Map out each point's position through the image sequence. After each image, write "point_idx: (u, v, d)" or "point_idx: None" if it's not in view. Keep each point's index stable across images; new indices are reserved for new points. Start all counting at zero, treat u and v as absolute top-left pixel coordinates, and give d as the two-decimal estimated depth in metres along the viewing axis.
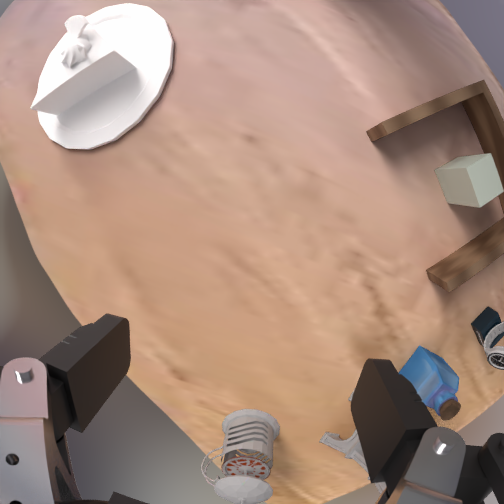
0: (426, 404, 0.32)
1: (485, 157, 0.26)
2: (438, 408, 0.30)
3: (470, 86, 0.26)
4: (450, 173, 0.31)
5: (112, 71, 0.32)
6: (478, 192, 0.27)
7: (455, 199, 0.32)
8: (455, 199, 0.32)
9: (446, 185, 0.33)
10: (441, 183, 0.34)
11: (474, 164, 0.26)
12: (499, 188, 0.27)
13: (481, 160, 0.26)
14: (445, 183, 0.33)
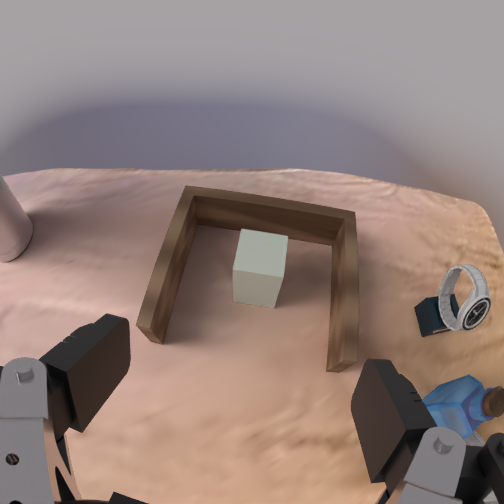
0: (473, 429, 0.20)
1: (240, 238, 0.32)
2: (485, 417, 0.19)
3: (179, 205, 0.36)
4: (238, 288, 0.33)
5: None
6: (267, 269, 0.30)
7: (269, 298, 0.34)
8: (270, 298, 0.34)
9: (253, 299, 0.35)
10: (249, 302, 0.36)
11: (237, 256, 0.30)
12: (281, 239, 0.32)
13: (239, 245, 0.31)
14: (249, 299, 0.35)
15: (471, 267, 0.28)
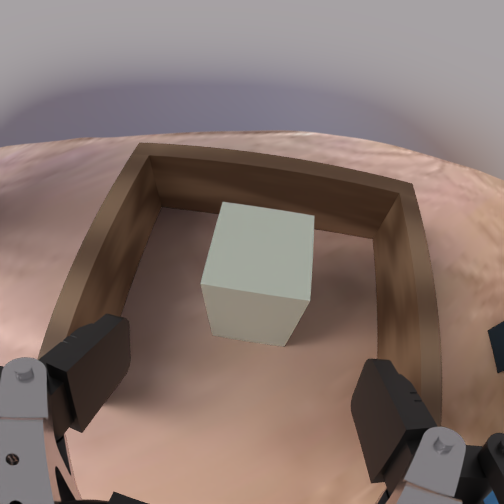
0: None
1: (219, 219, 0.16)
2: None
3: (123, 171, 0.20)
4: (218, 317, 0.17)
5: None
6: (275, 284, 0.14)
7: (277, 333, 0.18)
8: (279, 334, 0.18)
9: (247, 333, 0.19)
10: (241, 338, 0.20)
11: (211, 255, 0.14)
12: (302, 221, 0.16)
13: (217, 233, 0.15)
14: (241, 333, 0.19)
15: None
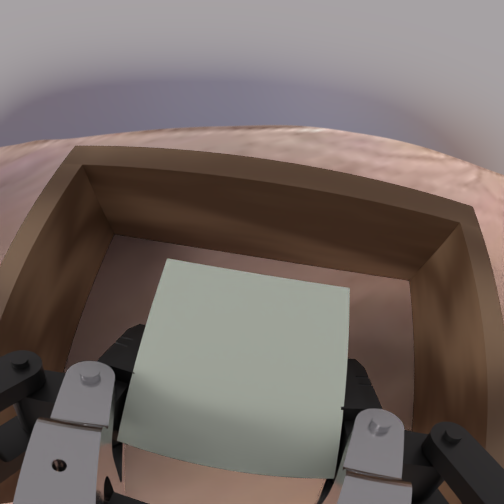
0: None
1: (158, 300, 0.07)
2: None
3: (45, 191, 0.12)
4: None
5: None
6: (266, 451, 0.06)
7: None
8: None
9: None
10: None
11: (137, 383, 0.06)
12: (325, 303, 0.08)
13: (150, 332, 0.07)
14: None
15: None
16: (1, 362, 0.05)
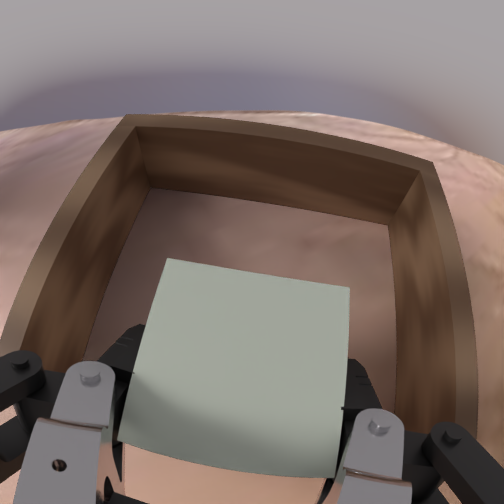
0: None
1: (158, 299, 0.07)
2: None
3: (105, 143, 0.17)
4: None
5: None
6: (266, 450, 0.06)
7: None
8: None
9: None
10: None
11: (137, 382, 0.06)
12: (325, 302, 0.08)
13: (150, 332, 0.07)
14: None
15: None
16: (1, 362, 0.05)
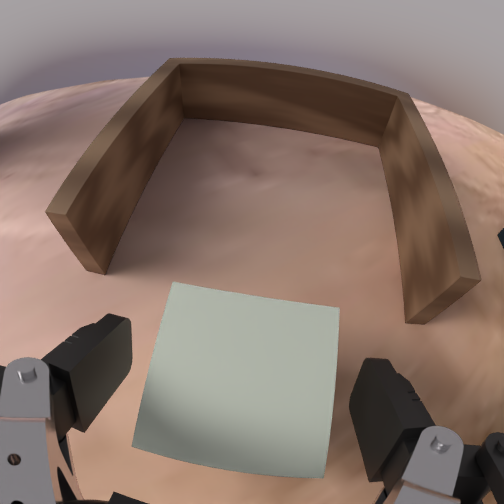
0: None
1: (165, 320, 0.08)
2: None
3: (156, 72, 0.21)
4: None
5: None
6: (263, 454, 0.06)
7: None
8: None
9: None
10: None
11: (149, 395, 0.07)
12: (317, 322, 0.08)
13: (159, 350, 0.08)
14: None
15: None
16: None
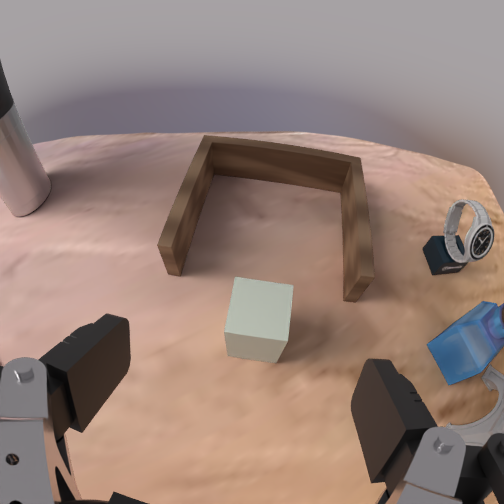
0: (496, 348, 0.21)
1: (233, 289, 0.25)
2: None
3: (198, 149, 0.38)
4: (232, 346, 0.26)
5: None
6: (267, 331, 0.23)
7: (271, 356, 0.27)
8: (271, 356, 0.27)
9: (251, 355, 0.28)
10: (247, 358, 0.29)
11: (230, 314, 0.24)
12: (285, 289, 0.25)
13: (232, 299, 0.25)
14: (247, 355, 0.28)
15: (471, 200, 0.30)
16: None
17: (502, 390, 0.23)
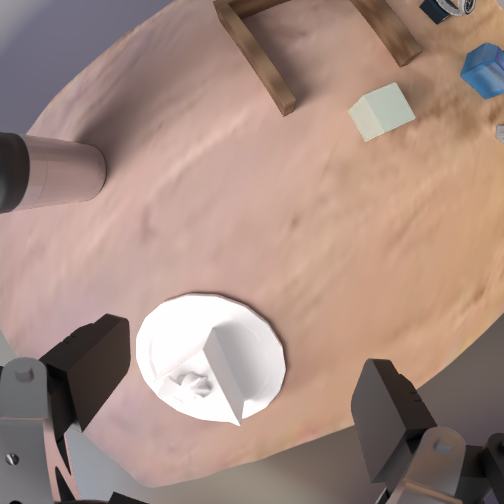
0: None
1: (369, 104, 0.30)
2: None
3: (225, 15, 0.30)
4: None
5: (215, 349, 0.43)
6: (403, 118, 0.30)
7: None
8: None
9: None
10: None
11: (379, 120, 0.30)
12: (393, 87, 0.29)
13: (373, 110, 0.30)
14: None
15: None
16: None
17: None
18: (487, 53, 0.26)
